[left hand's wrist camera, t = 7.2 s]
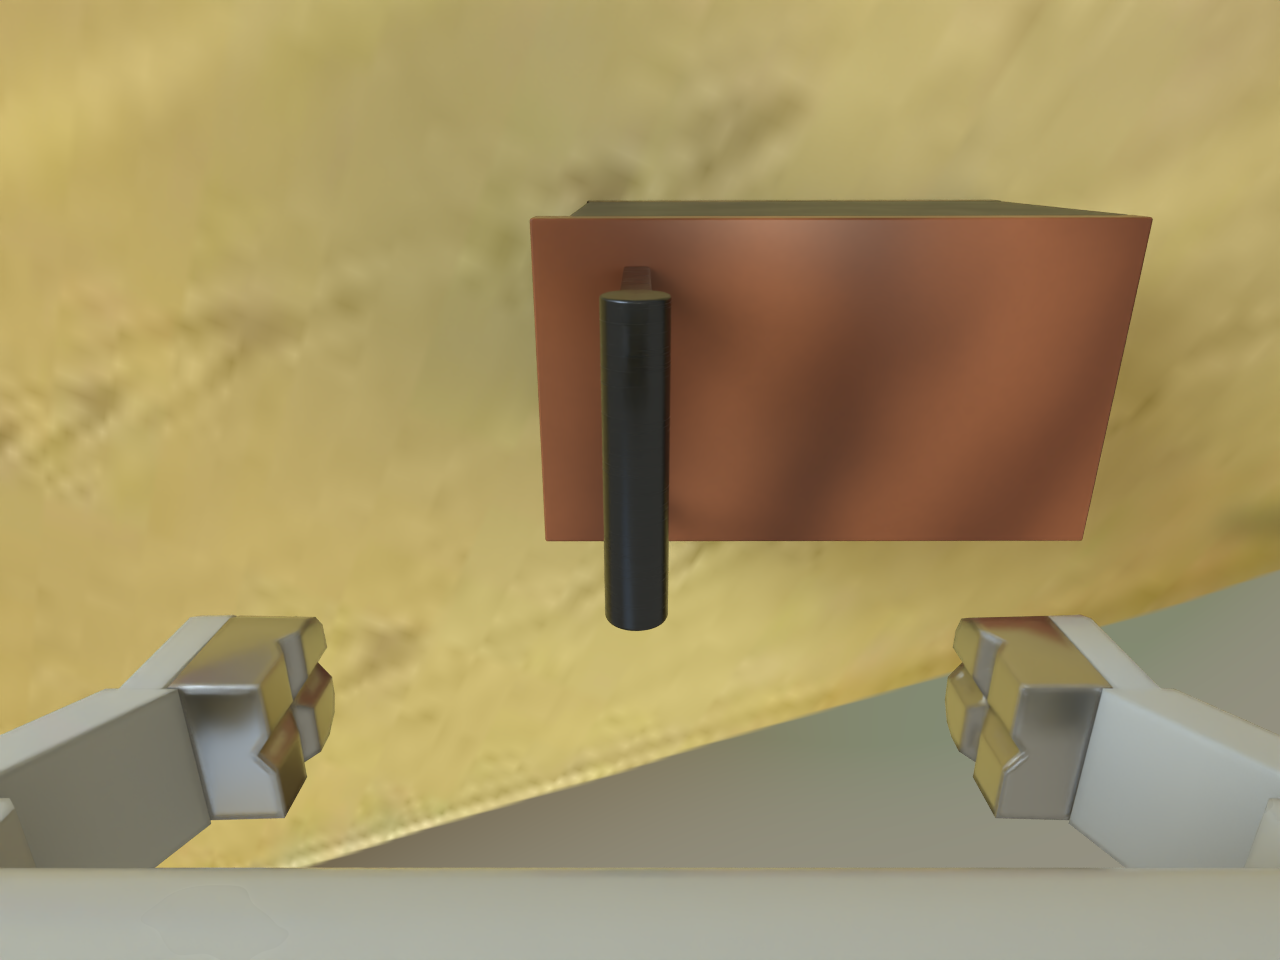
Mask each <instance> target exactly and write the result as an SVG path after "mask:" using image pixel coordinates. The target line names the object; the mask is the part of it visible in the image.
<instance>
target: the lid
mask: <svg viewBox="0 0 1280 960" xmlns="http://www.w3.org/2000/svg"><path fill="white" fill-rule="evenodd" d="M1152 220H1153V219H1152V218H1151V217H1145V216H1136V215H990V216H535V217H533V218H531V219H530V235H531V256H532V276H533V296H534V316H535V337H536V357H537V377H538V397H539V417H540V438H541V458H542V478H543V498H544V519H545V539H546V541H604V570H605V615H606V618H607V620H608V621H609V622H610V623H611V624H612V625H614V626H616V627H618V628H620V629H624V630H630V631H642V630H649V629H652V628H655V627H657V626H659V625H661V624H662V623H663V622H664V621H665V620H666V618H667V615H668V553H669V541H1080V540H1082V538H1083V534H1084V529H1085V525H1086V520H1087V516H1088V511H1089V507H1090V502H1091V497H1092V493H1093V488H1094V484H1095V479H1096V475H1097V470H1098V466H1099V461H1100V457H1101V452H1102V447H1103V443H1104V438H1105V434H1106V429H1107V425H1108V420H1109V416H1110V411H1111V407H1112V402H1113V397H1114V393H1115V388H1116V384H1117V379H1118V375H1119V370H1120V366H1121V361H1122V357H1123V352H1124V348H1125V343H1126V338H1127V334H1128V329H1129V325H1130V320H1131V316H1132V311H1133V307H1134V302H1135V298H1136V293H1137V288H1138V284H1139V279H1140V275H1141V270H1142V266H1143V261H1144V257H1145V252H1146V248H1147V243H1148V238H1149V234H1150V229H1151V225H1152Z"/></svg>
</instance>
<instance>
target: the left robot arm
mask: <svg viewBox="0 0 1280 960" xmlns="http://www.w3.org/2000/svg"><path fill="white" fill-rule="evenodd" d="M326 648H327V644H326V640H325V635H324V630H323V625H322V624H321V623H320V622H319V621H318V619H317V618H316V617H285V616H235V615H207V616H196V617H190V618H189V619H188V620H187V621H186V622H185V623H184V624H183V625H182V626H181V627H180V628H179V629H178V630H177V631H176V632H175V633H174V634H173V635H172V636H171V637H170V638H169V639H168V640H167V641H166V642H165V643H164V644H163V645H162V646H161V647H160V648H159V649H158V650H157V651H156V652H155V653H154V654H153V655H152V656H151V657H150V658H149V659H148V660H147V661H146V662H145V663H144V664H143V665H142V666H141V667H140V668H139V669H138V670H137V671H136V672H135V673H134V674H133V675H132V676H131V677H130V678H129V679H128V680H127V681H126V682H125V683H124V684H123V685H122V686H121V687H120V688H119V689H104V690H102V691H99V692H97V693H95V694H93V695H90V696H88V697H86V698H84V699H81V700H79V701H77V702H75V703H72V704H70V705H68V706H65V707H63V708H61V709H59V710H56V711H54V712H52V713H50V714H47V715H45V716H43V717H40V718H38V719H36V720H34V721H31V722H29V723H27V724H25V725H22V726H20V727H18V728H16V729H13V730H11V731H9V732H6V733H4V734H2V735H0V960H1280V735H1278V734H1275V733H1273V732H1271V731H1269V730H1267V729H1264V728H1262V727H1260V726H1257V725H1255V724H1253V723H1251V722H1248V721H1246V720H1244V719H1242V718H1239V717H1237V716H1235V715H1232V714H1230V713H1228V712H1226V711H1224V710H1221V709H1219V708H1217V707H1214V706H1212V705H1210V704H1208V703H1205V702H1203V701H1201V700H1199V699H1196V698H1194V697H1192V696H1189V695H1187V694H1185V693H1183V692H1180V691H1178V690H1176V689H1161V688H1160V687H1159V686H1158V685H1157V684H1156V683H1155V682H1154V681H1153V680H1152V679H1151V678H1150V677H1149V676H1148V675H1147V674H1146V673H1145V672H1144V671H1143V670H1142V669H1141V668H1140V667H1139V666H1138V665H1137V664H1136V663H1135V662H1134V661H1133V660H1132V659H1131V658H1130V657H1129V656H1128V655H1127V654H1126V653H1125V652H1124V651H1123V650H1122V649H1121V648H1120V647H1119V646H1118V645H1117V644H1116V643H1115V642H1114V641H1113V640H1112V639H1111V638H1110V637H1109V636H1108V635H1107V634H1106V633H1105V632H1104V631H1103V630H1102V629H1101V628H1100V627H1099V626H1098V625H1097V624H1096V623H1095V622H1094V621H1093V620H1092V619H1091V618H1088V617H1086V616H1083V615H1060V616H1028V617H987V618H964V619H961V621H960V623H959V625H958V627H957V629H956V633H955V639H954V644H953V648H954V650H955V651H956V653H957V655H958V656H959V658H960V659H961V661H962V663H961V664H960V665H959V666H958V667H957V668H956V669H955V670H954V671H953V672H952V673H951V674H950V676H949V677H948V680H947V688H946V696H945V705H946V717H947V723H948V727H949V730H950V733H951V737H952V739H953V741H954V742H955V744H956V746H957V748H958V750H959V752H961V753H962V754H964V755H965V756H967V757H969V758H970V759H972V760H973V761H975V762H976V764H975V769H974V775H973V778H974V780H975V782H976V783H977V785H978V787H979V789H980V791H981V793H982V794H983V796H984V798H985V800H986V802H987V803H988V805H989V807H990V809H991V811H992V812H993V814H994V816H995V818H1013V819H1049V820H1069V824H1070V825H1072V826H1073V827H1074V828H1075V829H1077V830H1078V831H1079V832H1081V833H1082V834H1083V835H1084V836H1086V837H1087V838H1088V839H1089V840H1091V841H1092V842H1093V843H1095V844H1096V845H1097V846H1098V847H1100V848H1101V849H1102V850H1104V851H1105V852H1106V853H1107V854H1109V855H1110V856H1111V857H1112V858H1114V859H1115V860H1116V861H1118V862H1119V863H1120V864H1121V865H1123V866H1124V867H1125V868H155V867H156V866H158V865H159V864H160V863H161V862H163V861H164V860H165V859H167V858H168V857H169V856H170V855H172V854H173V853H174V852H175V851H177V850H178V849H179V848H181V847H182V846H183V845H184V844H186V843H187V842H188V841H190V840H191V839H192V838H193V837H195V836H196V835H197V834H199V833H200V832H201V831H202V830H204V829H205V828H206V827H208V826H209V825H210V824H211V821H210V820H231V819H266V818H285V816H286V814H287V813H288V811H289V809H290V807H291V805H292V803H293V802H294V800H295V798H296V796H297V794H298V793H299V791H300V789H301V787H302V785H303V783H304V782H305V780H306V778H307V775H306V769H305V764H304V762H305V761H307V760H309V759H310V758H312V757H313V756H315V755H316V754H318V753H319V752H321V750H322V748H323V746H324V744H325V742H326V740H327V738H328V736H329V734H330V730H331V725H332V721H333V717H334V705H335V693H334V687H333V680H332V677H331V676H330V675H329V673H328V672H327V671H326V670H325V669H324V668H323V667H322V666H321V665H320V664H319V663H318V661H319V659H320V658H321V656H322V655H323V653H324V651H325V650H326Z"/></svg>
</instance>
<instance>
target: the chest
mask: <svg viewBox="0 0 1280 960" xmlns="http://www.w3.org/2000/svg"><path fill="white" fill-rule="evenodd" d="M990 215H1125V214H1115V213H1106V212H1096V211H1087V210H1077V209H1068V208H1058V207H1049V206H1039V205H1030V204H1020V203H1011V202H1001V201H997V200H692V201H587V204H586V205H584V206H583V207H582V208H580V209H579V210H577V211H576V212H575V213H573V214H572V215H571V216H990Z"/></svg>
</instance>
